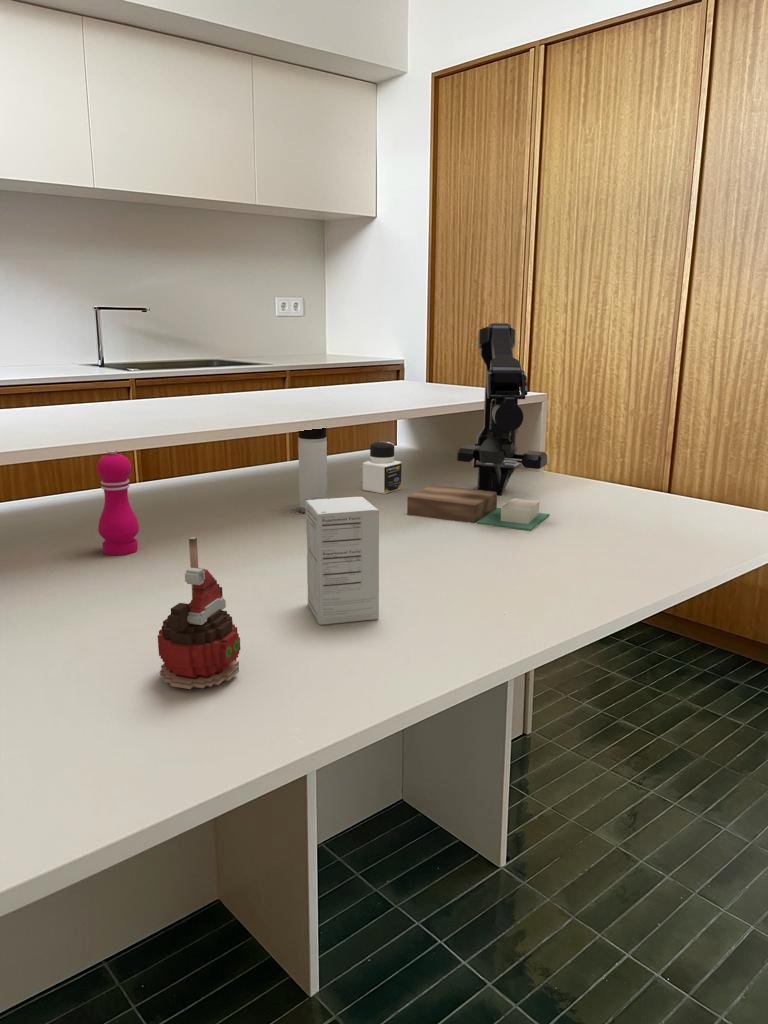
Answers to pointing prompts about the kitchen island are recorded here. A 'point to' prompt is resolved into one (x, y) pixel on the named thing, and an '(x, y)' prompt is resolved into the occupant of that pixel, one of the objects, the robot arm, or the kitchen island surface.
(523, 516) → the block
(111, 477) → the pepper mill
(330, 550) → the supplement box
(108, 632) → the kitchen island surface
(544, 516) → the mat
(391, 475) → the medicine bottle
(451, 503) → the deck
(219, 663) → the cake
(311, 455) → the travel mug
